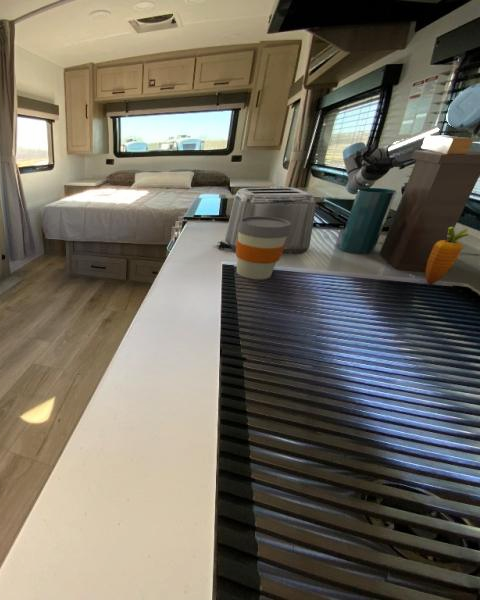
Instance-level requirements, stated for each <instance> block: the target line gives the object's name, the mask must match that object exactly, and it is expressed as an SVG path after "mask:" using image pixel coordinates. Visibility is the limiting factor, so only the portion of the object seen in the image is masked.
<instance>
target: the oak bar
mask: <svg viewBox="0 0 480 600" xmlns="http://www.w3.org/2000/svg"><path fill="white" fill-rule="evenodd" d="M474 140H475V138H474V137H469V136H467V137H458V136H449V135H426V137H425V140H424V142H423V145H422V147H421V148H422V149H427V150H431V151H435V152H439V153H443V154H467V153H468V151H470V148H471V146H472V144H473V141H474Z"/></svg>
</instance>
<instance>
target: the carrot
mask: <svg viewBox="0 0 480 600" xmlns="http://www.w3.org/2000/svg"><path fill="white" fill-rule="evenodd" d="M468 230H469V229H468V228H464V229H462V230H460V232H459V233H458V234H455V227H449V229H448V236H447V238H448V239H447V240H441V241H438V242H437V243H436V244H435V245H434V247H433V249H432V251H431V254H430V256H429V259H428V262H427V266H426V272H425V279H426V283H427V285H433V284H435V283H436V282H438V281H439V280H440V279H441V278H442V277H444V276H445V275H446V274H447V272H449V270H450V269H451V267H453V266H454V264H455V262H456V260H457V259H458V257H459V256H460V254H461V252H462V250H463V248H464V245H463V244H462V243H461V242H458V240H460V239H462V238H464V237H468V236H469V234H468V233H467V232H468Z"/></svg>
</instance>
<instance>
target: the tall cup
mask: <svg viewBox="0 0 480 600" xmlns="http://www.w3.org/2000/svg"><path fill="white" fill-rule="evenodd" d="M396 195H397V190H395V189H390V188H380V187H370V188H360V189H358V191H357V194H356V195H355V197H354V201H353V203H352V207H351V210H350V212H349V216H348V218H347V221H346V224H345V228H344V231H343V233H342V237H341V239H340V243H339V245H338V250H340V251H342V252H344V253H348V254H352V255H353V254H354V255H361V256H363V255H365V256H367V255H372V254H373V253H374V251H375V250H376V246H377V244H378V241H379V238H380V236H381V234H382V230H383V228H384V225H385V223H386V220H387V218H388V216H389V212H390V211H391V208H392V205H393V203H394V200H395V197H396Z"/></svg>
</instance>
